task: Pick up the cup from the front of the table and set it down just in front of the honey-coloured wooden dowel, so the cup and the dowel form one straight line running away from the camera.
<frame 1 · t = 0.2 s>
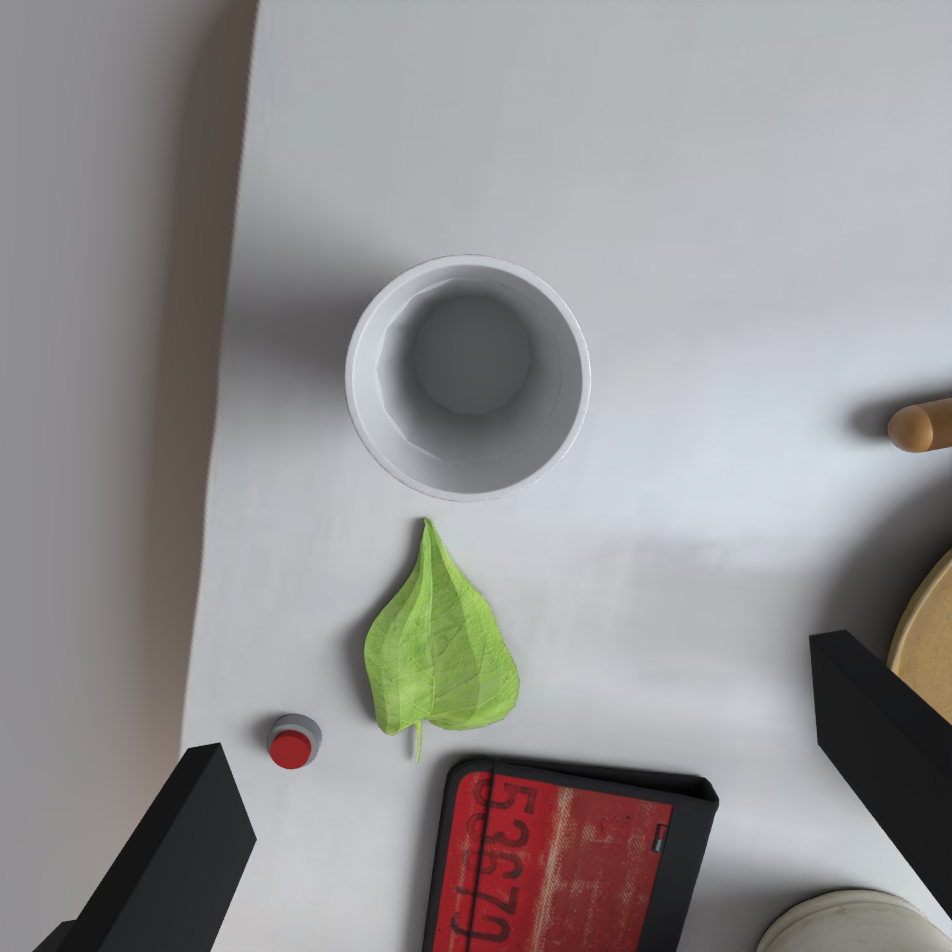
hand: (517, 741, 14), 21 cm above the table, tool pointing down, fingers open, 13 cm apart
leaf: (444, 646, 37), on the table
push button: (297, 733, 38), on the table
notebook: (552, 892, 41), on the table
cup: (472, 354, 32), on the table
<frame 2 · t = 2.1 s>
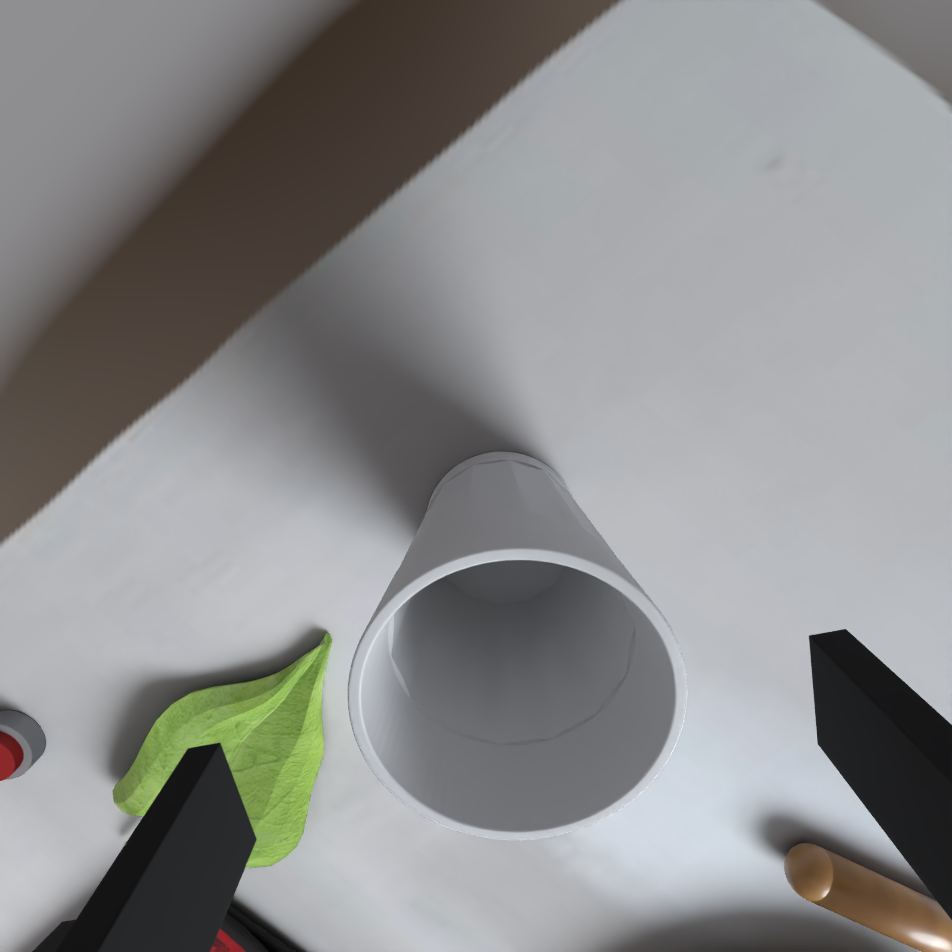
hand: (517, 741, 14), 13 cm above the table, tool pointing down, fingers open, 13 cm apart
leaf: (246, 757, 30), on the table
dowel: (898, 896, 32), on the table
push button: (16, 734, 30), on the table
cup: (501, 523, 27), on the table
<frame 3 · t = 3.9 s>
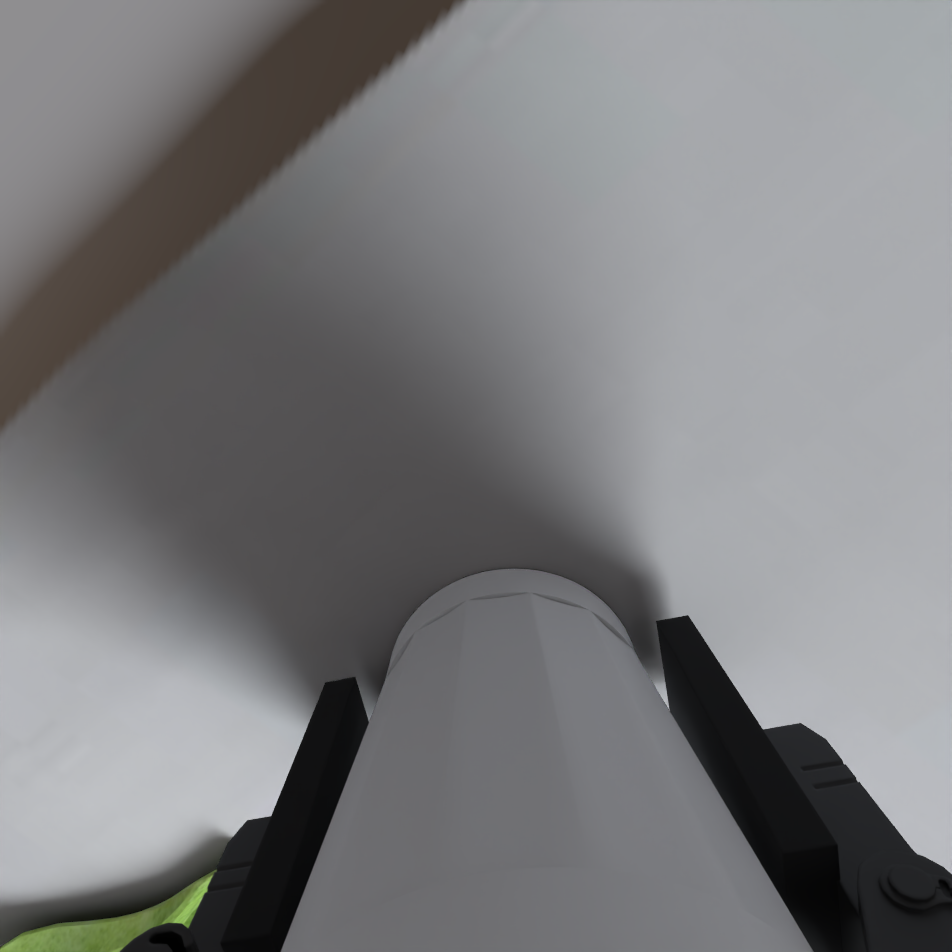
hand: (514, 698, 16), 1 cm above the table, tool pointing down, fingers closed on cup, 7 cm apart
cup: (512, 678, 16), on the table, touching gripper
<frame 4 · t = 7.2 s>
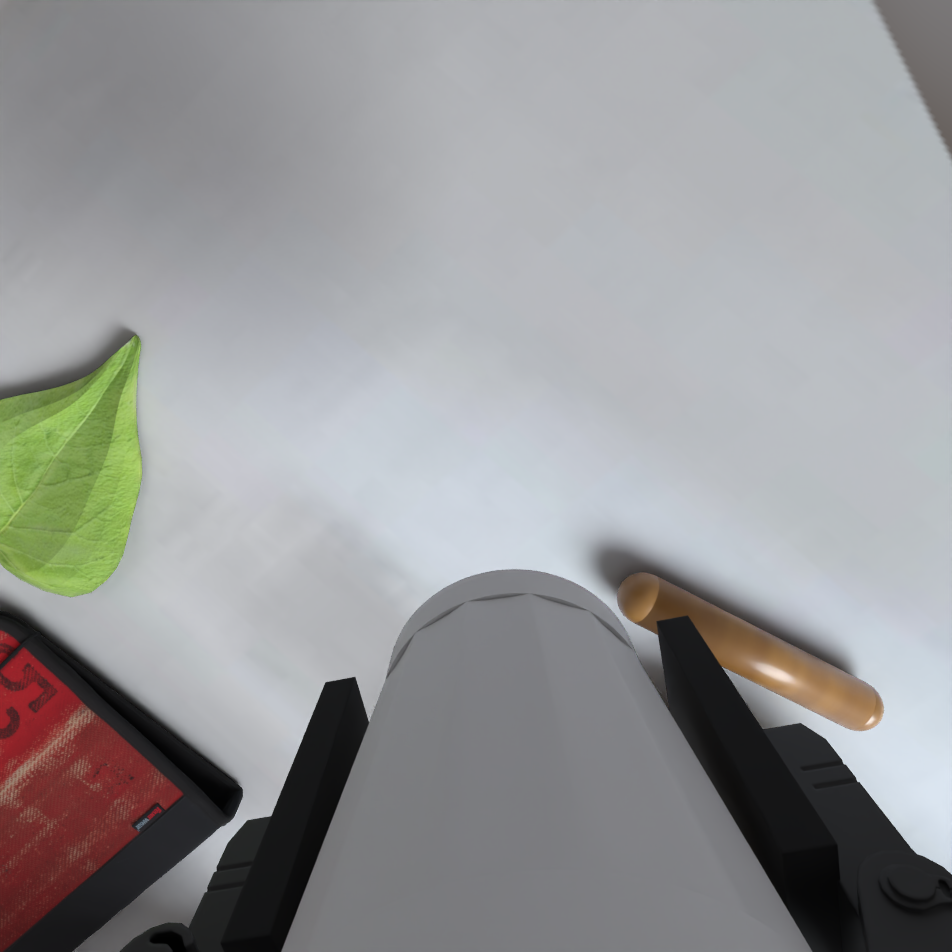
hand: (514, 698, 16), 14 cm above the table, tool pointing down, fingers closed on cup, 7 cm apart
leaf: (67, 483, 29), on the table
dowel: (741, 639, 31), on the table
notebook: (11, 805, 34), on the table
cup: (512, 679, 16), point 14 cm above the table, touching gripper
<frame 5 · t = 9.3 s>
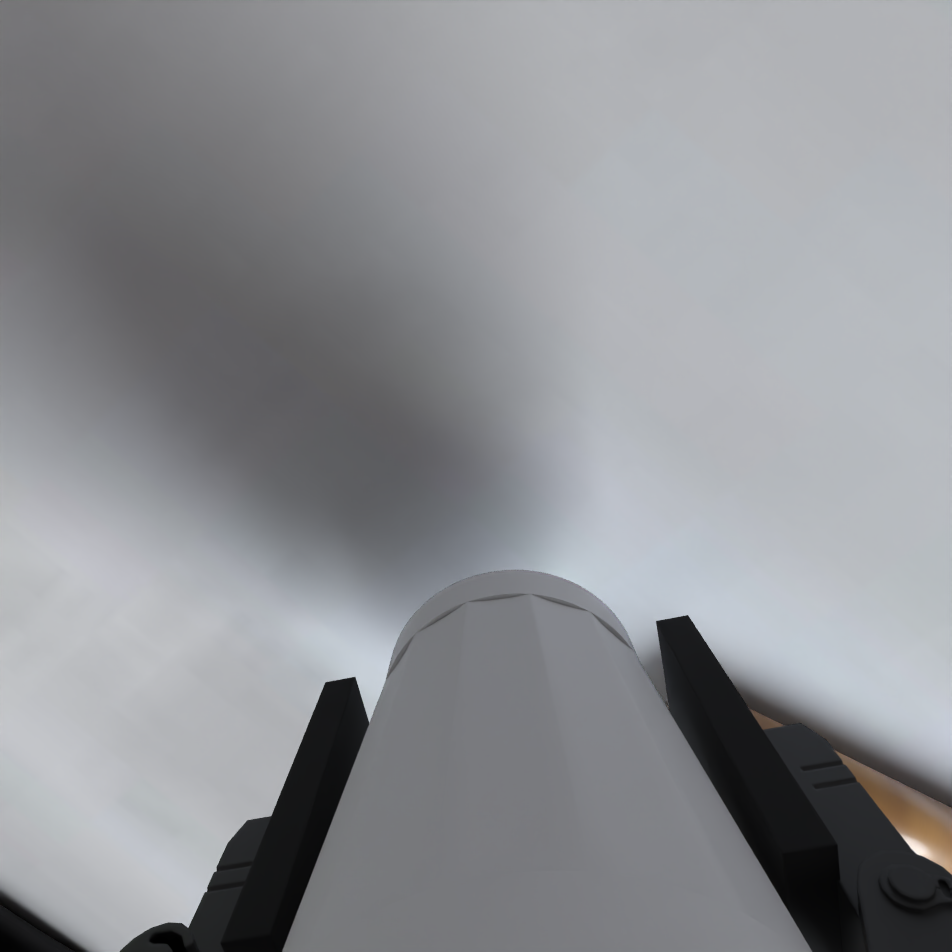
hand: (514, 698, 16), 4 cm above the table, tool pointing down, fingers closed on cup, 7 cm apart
dowel: (852, 784, 21), on the table
cup: (512, 680, 16), point 3 cm above the table, touching gripper
when the fingers open (1 cm above the table, at t = 10.6 s): cup stays where it is, on the table.
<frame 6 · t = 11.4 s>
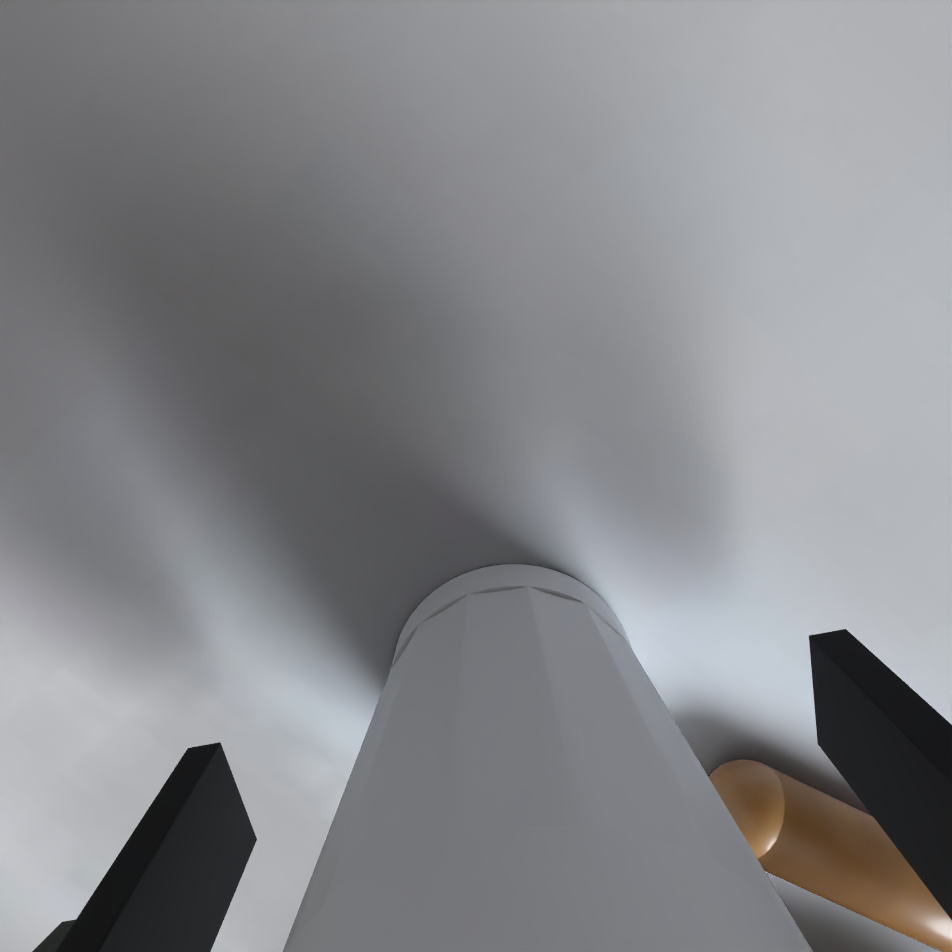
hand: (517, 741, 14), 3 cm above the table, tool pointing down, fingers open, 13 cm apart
dowel: (905, 859, 18), on the table
cup: (511, 670, 17), on the table
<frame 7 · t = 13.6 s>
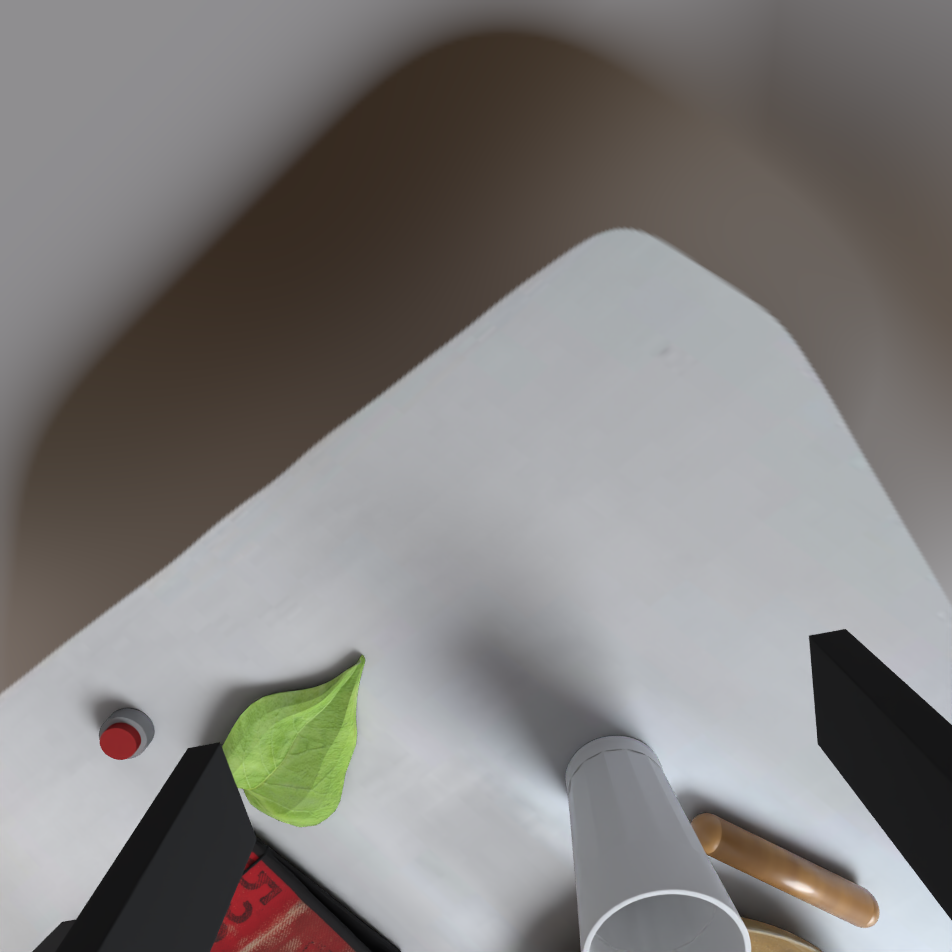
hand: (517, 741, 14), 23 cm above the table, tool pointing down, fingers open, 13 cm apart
leaf: (299, 745, 41), on the table
dowel: (776, 855, 43), on the table
push button: (132, 726, 41), on the table
cup: (613, 775, 42), on the table
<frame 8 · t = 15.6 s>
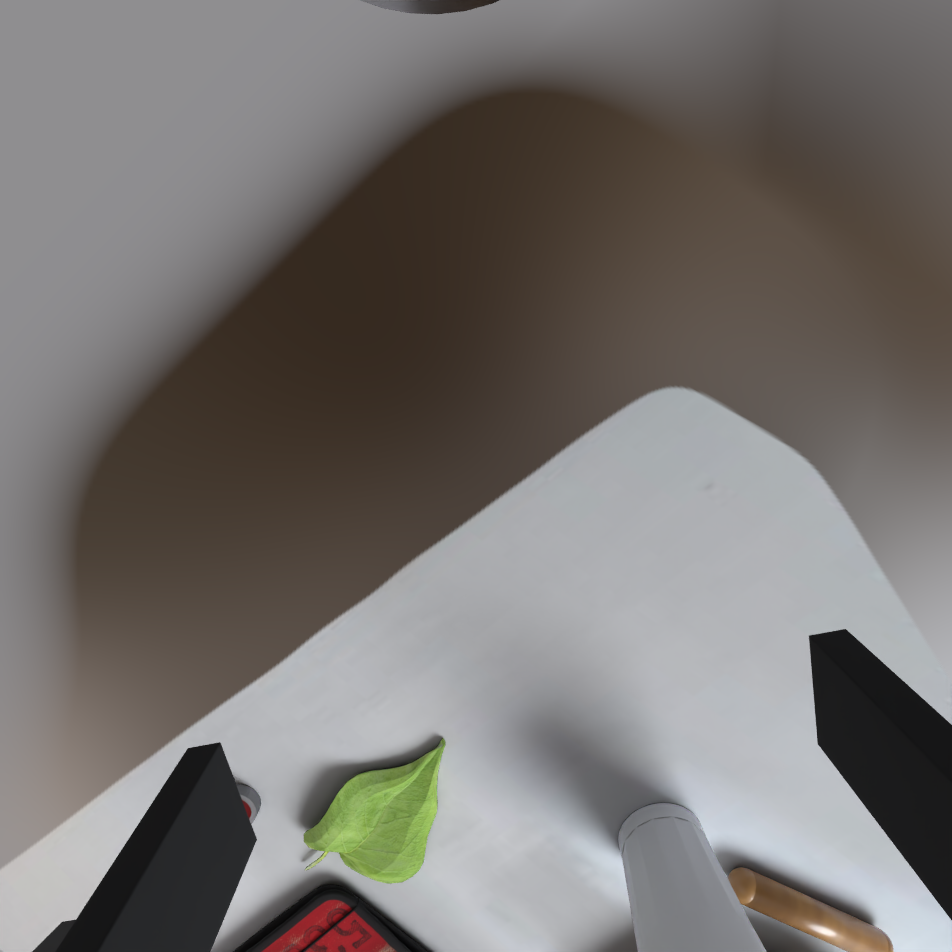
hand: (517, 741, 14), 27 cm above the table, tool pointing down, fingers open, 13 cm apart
leaf: (386, 812, 47), on the table
dowel: (802, 901, 49), on the table
push button: (241, 799, 47), on the table
cup: (659, 835, 48), on the table
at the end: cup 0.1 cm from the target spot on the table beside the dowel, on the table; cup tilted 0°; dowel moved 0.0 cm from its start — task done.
